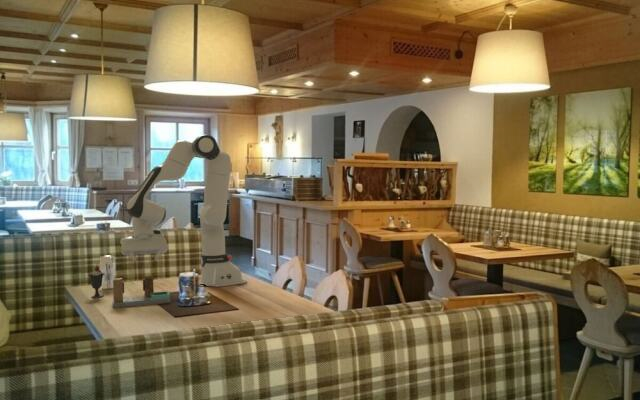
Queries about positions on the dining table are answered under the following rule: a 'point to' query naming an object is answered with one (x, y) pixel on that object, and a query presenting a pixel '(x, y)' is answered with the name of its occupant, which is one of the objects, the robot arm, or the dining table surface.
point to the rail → (138, 301)
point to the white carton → (107, 270)
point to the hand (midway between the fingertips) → (145, 260)
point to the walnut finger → (148, 285)
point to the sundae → (96, 281)
